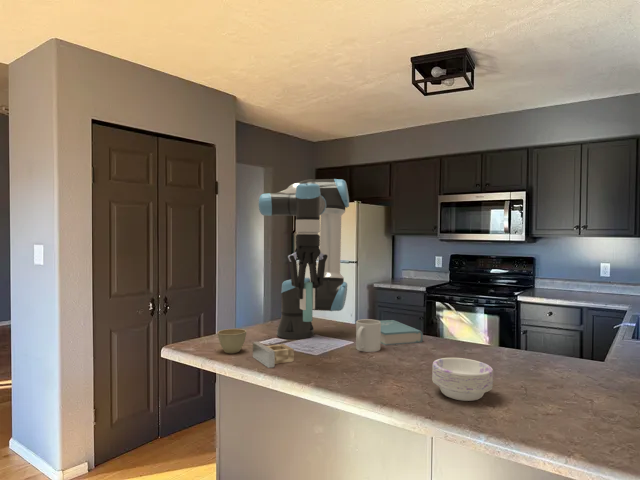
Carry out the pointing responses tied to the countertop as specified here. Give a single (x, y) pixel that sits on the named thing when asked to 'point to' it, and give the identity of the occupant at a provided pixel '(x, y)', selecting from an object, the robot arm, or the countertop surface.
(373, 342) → the mug
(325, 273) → the robot arm
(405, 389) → the countertop surface
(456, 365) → the paper bowls
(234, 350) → the flower pot
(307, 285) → the dowel
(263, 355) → the backstop rail
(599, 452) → the countertop surface
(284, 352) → the block
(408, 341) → the book
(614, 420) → the countertop surface
